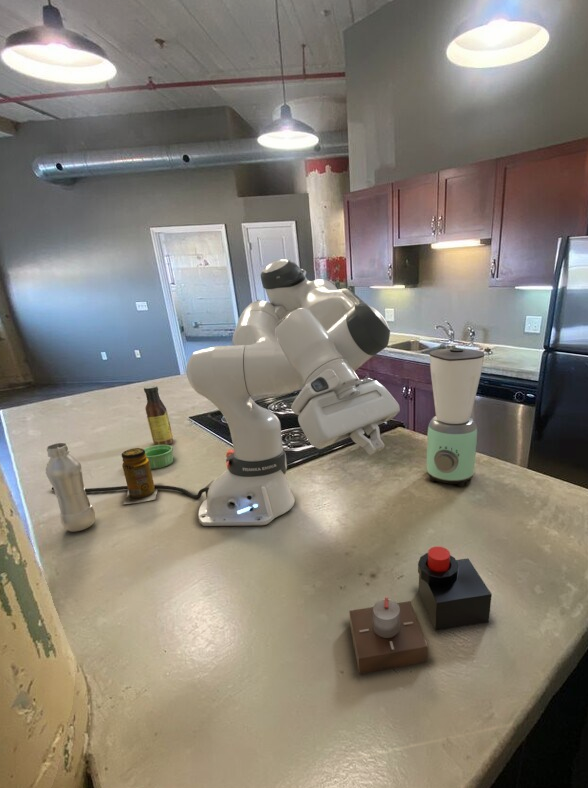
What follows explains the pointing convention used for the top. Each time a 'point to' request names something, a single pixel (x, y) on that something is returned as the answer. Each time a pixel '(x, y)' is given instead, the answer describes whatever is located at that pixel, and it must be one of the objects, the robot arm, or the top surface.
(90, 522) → the plastic bottle
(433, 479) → the green blender
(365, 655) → the timer panel
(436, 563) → the button
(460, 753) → the top surface
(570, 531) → the top surface
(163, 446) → the ramekin
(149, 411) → the sauce bottle
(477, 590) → the black button base
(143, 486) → the condiment
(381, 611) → the knob
